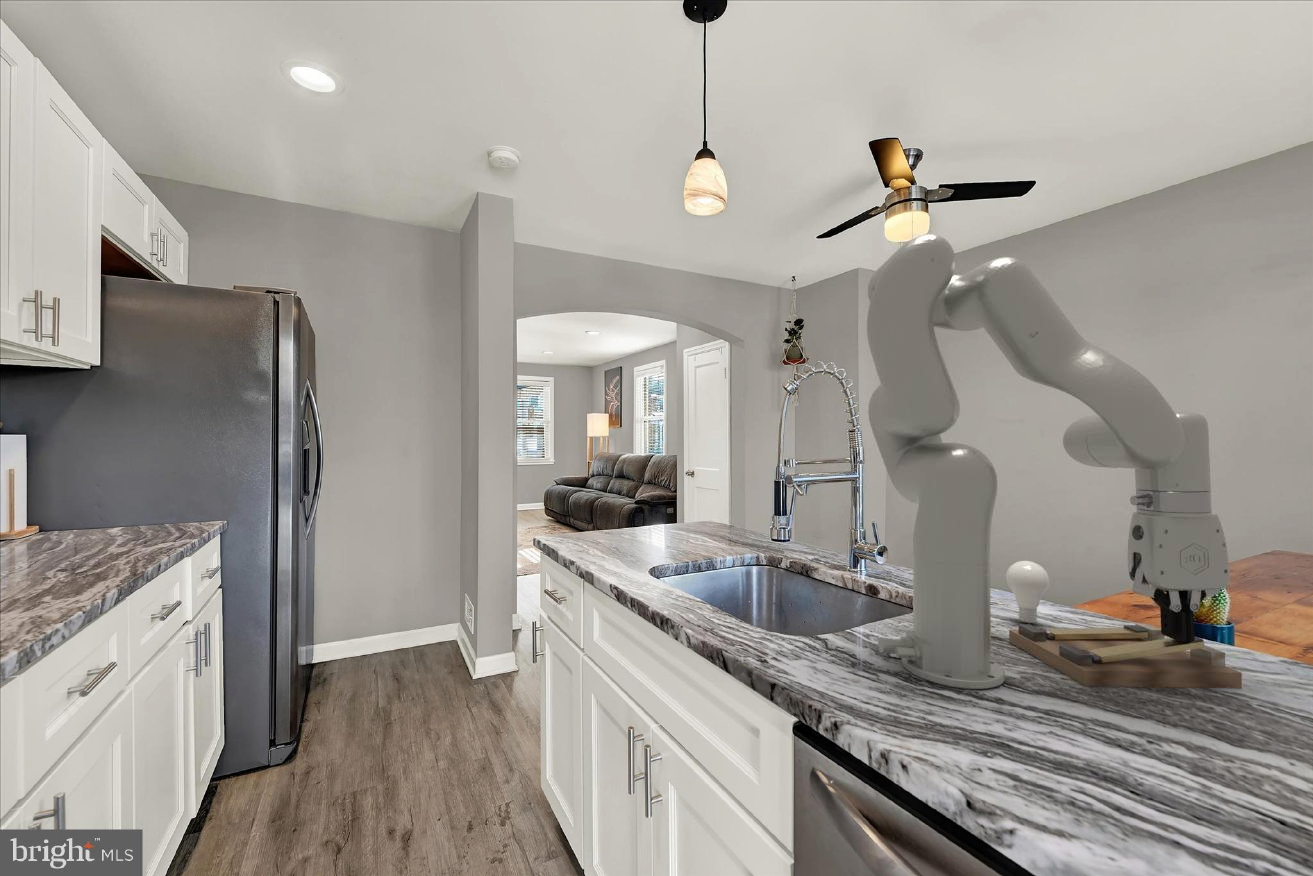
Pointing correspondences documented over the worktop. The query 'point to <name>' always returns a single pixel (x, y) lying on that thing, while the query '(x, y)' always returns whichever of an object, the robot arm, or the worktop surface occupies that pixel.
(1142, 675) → the board
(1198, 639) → the front bar
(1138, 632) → the back bar
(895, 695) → the worktop surface
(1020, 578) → the lightbulb
